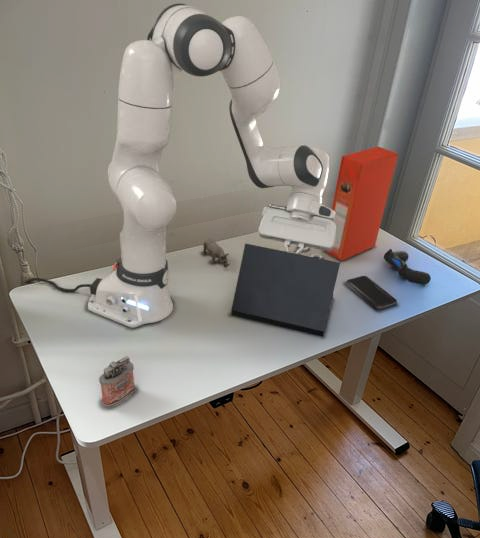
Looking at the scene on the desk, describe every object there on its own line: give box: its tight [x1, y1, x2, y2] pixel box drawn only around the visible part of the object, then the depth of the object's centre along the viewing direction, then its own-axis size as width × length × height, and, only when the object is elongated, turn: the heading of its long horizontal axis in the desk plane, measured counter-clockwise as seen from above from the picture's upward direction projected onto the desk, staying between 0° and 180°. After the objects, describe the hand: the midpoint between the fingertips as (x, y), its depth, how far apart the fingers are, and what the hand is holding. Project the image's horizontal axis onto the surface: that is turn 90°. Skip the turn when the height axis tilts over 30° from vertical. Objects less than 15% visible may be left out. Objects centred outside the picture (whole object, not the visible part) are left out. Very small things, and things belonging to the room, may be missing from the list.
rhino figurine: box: [202, 237, 230, 268], centre depth 155 cm, size 4×14×6 cm, turn 33°
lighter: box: [98, 355, 136, 409], centre depth 107 cm, size 8×3×10 cm, turn 138°
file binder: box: [323, 146, 399, 262], centre depth 160 cm, size 8×17×32 cm, turn 131°
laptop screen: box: [231, 243, 341, 333], centre depth 131 cm, size 18×25×1 cm
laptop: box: [231, 295, 334, 337], centre depth 140 cm, size 18×25×2 cm
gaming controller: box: [383, 248, 432, 286], centre depth 158 cm, size 17×6×10 cm
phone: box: [345, 275, 398, 311], centre depth 149 cm, size 8×1×15 cm
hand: (290, 259), depth 132 cm, fingers closed, pressing on laptop screen
